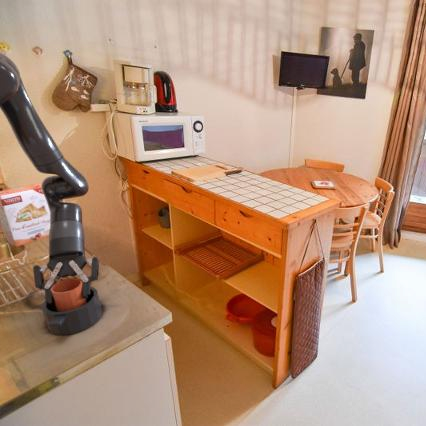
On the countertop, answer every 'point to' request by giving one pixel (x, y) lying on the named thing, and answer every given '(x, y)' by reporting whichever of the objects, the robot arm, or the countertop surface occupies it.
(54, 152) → the robot arm
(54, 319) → the pot
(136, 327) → the countertop surface
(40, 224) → the cracker box
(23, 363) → the countertop surface
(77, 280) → the cup
